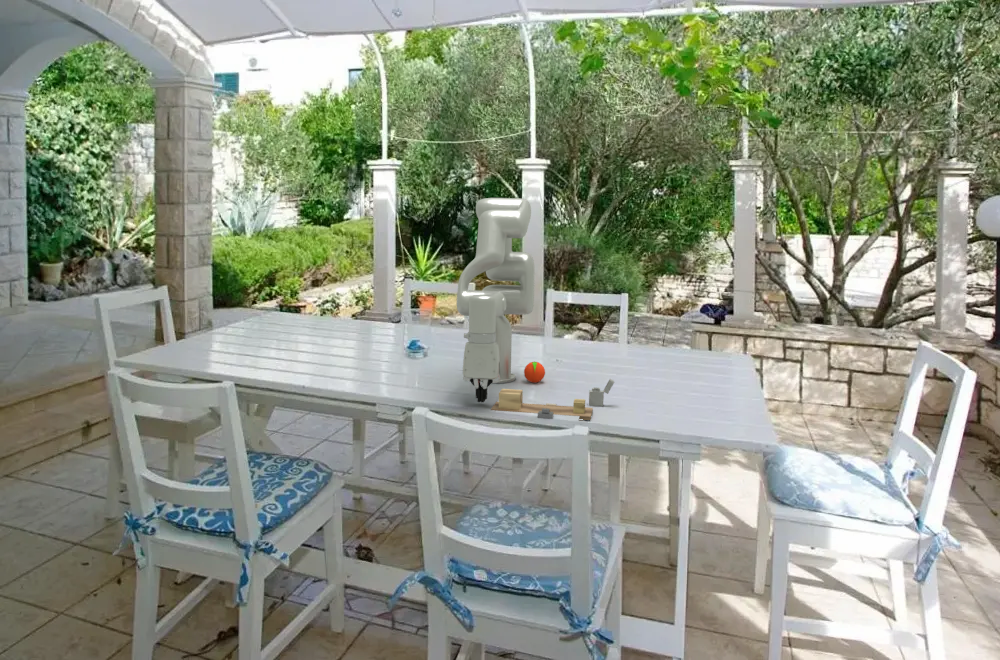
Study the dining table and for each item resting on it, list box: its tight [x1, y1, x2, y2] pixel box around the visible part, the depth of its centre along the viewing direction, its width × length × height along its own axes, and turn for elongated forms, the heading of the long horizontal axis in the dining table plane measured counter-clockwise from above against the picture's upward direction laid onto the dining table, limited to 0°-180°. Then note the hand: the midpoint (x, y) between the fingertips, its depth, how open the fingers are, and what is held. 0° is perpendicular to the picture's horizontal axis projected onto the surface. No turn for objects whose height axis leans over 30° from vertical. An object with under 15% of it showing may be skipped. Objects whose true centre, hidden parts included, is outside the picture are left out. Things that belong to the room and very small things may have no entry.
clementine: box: [523, 361, 546, 384], centre depth 244 cm, size 8×7×7 cm
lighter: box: [588, 378, 615, 407], centre depth 218 cm, size 7×2×8 cm, turn 86°
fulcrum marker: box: [537, 408, 554, 420], centre depth 202 cm, size 2×4×3 cm, turn 79°
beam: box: [490, 398, 594, 421], centre depth 210 cm, size 12×28×4 cm, turn 79°
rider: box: [498, 388, 524, 410], centre depth 211 cm, size 5×6×4 cm
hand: (481, 401), depth 213 cm, fingers closed
